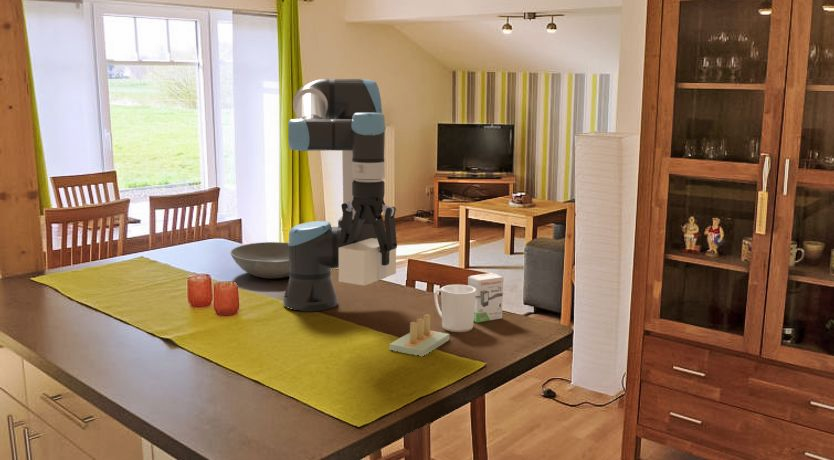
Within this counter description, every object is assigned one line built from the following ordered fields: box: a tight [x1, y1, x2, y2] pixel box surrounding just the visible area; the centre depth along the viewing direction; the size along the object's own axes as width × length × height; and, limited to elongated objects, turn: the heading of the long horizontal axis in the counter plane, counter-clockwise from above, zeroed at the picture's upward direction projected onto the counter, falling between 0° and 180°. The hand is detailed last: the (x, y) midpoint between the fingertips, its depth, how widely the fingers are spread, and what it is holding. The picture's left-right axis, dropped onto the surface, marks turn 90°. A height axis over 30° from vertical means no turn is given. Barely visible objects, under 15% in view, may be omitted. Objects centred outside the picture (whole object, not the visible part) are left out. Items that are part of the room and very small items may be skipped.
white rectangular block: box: [338, 238, 397, 287], centre depth 186 cm, size 14×7×8 cm, turn 151°
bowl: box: [230, 241, 289, 280], centre depth 255 cm, size 27×28×8 cm
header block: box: [389, 313, 450, 357], centre depth 190 cm, size 9×14×6 cm, turn 152°
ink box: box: [467, 272, 504, 323], centre depth 212 cm, size 9×5×12 cm, turn 121°
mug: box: [433, 284, 476, 333], centre depth 204 cm, size 11×9×10 cm
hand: (368, 276), depth 186 cm, fingers closed on white rectangular block, 7 cm apart
